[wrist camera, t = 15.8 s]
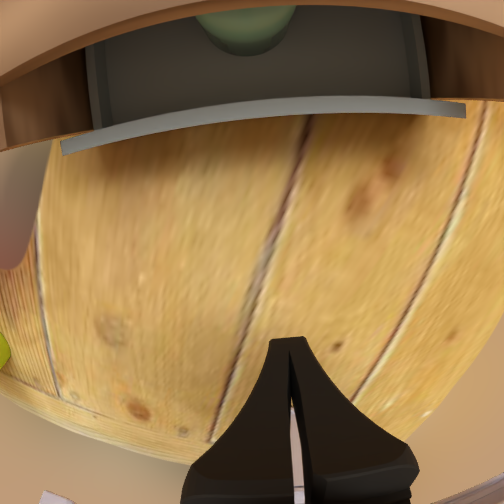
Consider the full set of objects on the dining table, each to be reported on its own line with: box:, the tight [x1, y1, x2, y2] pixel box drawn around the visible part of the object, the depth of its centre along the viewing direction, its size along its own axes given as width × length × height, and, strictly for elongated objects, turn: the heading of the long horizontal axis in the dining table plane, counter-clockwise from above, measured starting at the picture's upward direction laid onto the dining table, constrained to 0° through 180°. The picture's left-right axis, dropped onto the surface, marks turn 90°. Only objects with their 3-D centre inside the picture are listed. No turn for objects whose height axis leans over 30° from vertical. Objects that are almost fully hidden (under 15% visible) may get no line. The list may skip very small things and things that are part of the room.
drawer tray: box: [60, 5, 466, 156], centre depth 13 cm, size 11×21×5 cm, turn 96°
